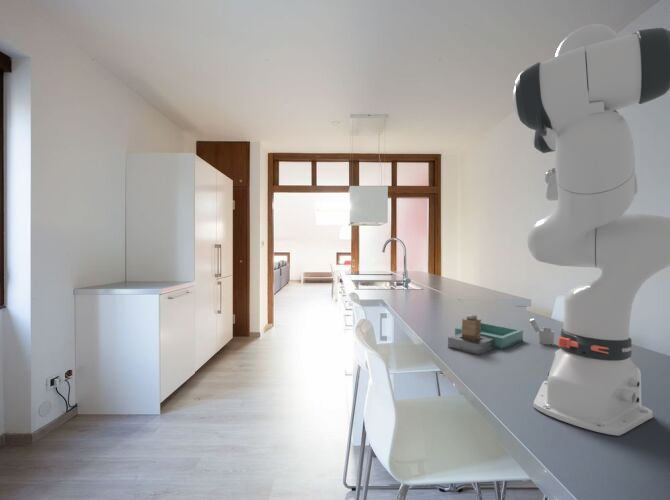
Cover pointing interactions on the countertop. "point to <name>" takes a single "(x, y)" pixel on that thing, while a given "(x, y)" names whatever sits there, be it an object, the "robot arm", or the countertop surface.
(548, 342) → the lighter
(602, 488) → the countertop surface
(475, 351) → the grey square box
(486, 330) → the tray
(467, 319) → the brown wooden tall block
